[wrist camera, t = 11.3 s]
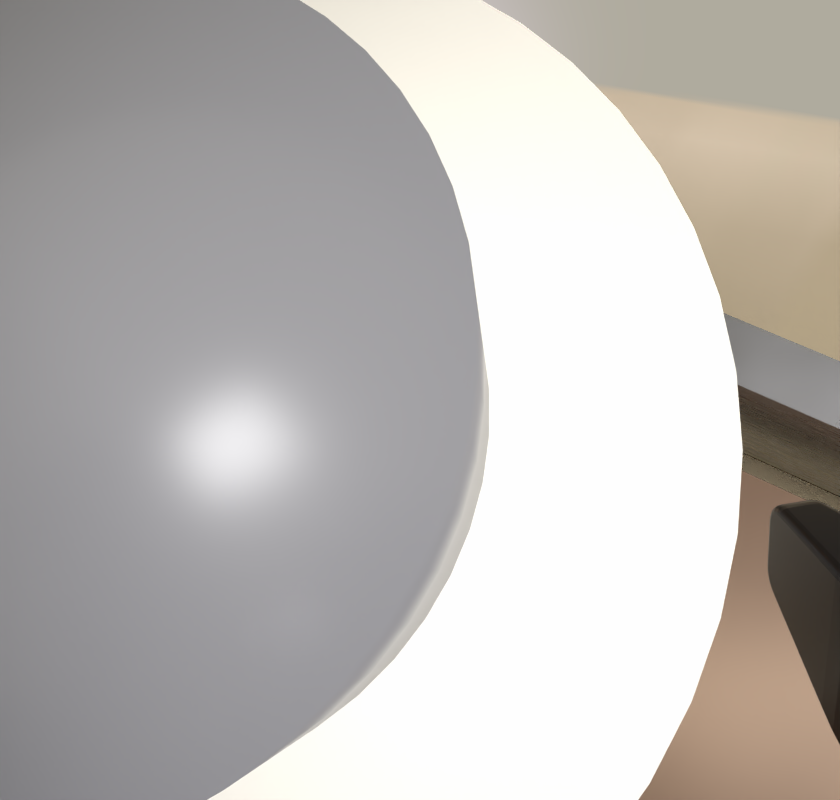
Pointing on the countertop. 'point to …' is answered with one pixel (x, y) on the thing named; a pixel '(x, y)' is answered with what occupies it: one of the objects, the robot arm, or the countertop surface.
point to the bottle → (345, 411)
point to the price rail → (787, 404)
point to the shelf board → (751, 692)
